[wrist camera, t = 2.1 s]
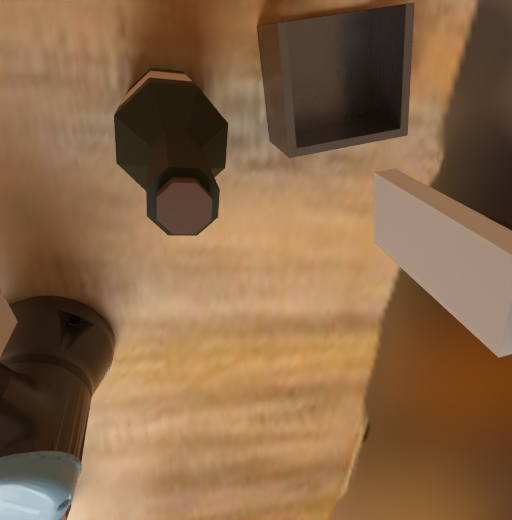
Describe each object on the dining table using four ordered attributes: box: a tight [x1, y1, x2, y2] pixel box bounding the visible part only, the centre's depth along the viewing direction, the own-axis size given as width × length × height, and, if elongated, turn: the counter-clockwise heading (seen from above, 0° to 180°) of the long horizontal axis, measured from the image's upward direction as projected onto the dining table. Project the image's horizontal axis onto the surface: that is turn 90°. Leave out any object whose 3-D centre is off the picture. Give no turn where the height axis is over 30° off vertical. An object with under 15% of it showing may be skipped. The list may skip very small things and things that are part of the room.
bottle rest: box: [257, 3, 414, 158], centre depth 42 cm, size 13×12×8 cm
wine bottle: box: [114, 68, 228, 235], centre depth 30 cm, size 8×8×30 cm
